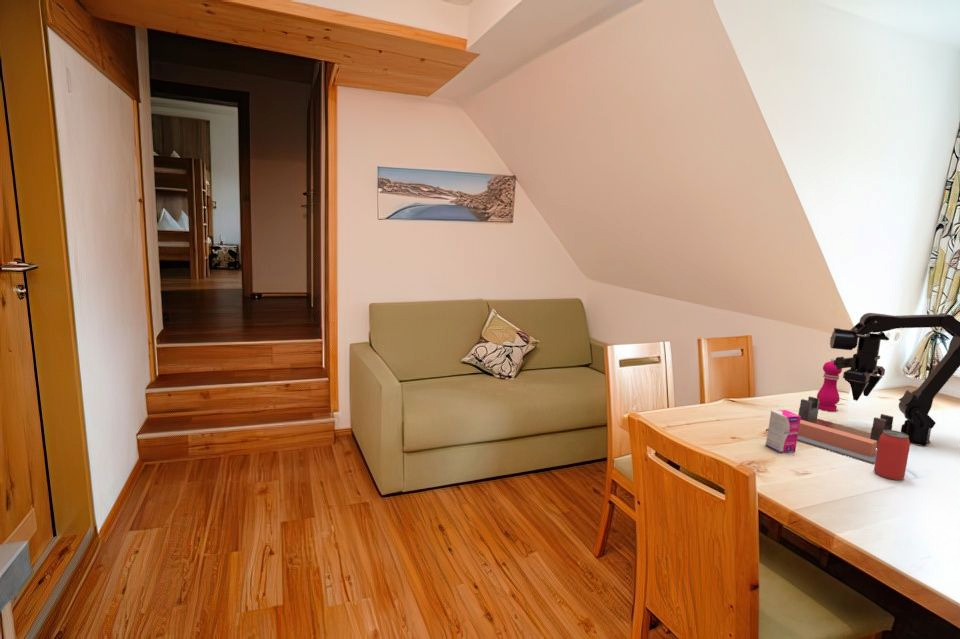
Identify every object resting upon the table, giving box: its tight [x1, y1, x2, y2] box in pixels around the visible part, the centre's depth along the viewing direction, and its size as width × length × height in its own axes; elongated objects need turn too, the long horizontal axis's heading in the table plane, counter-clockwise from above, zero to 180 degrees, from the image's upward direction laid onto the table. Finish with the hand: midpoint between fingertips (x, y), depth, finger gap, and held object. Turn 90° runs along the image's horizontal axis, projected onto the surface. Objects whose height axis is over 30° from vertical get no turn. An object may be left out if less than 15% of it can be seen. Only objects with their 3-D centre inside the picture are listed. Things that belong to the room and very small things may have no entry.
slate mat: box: [765, 428, 877, 465], centre depth 165 cm, size 30×12×1 cm, turn 37°
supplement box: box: [765, 409, 801, 454], centre depth 158 cm, size 6×6×12 cm
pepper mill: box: [816, 357, 843, 412], centre depth 199 cm, size 7×7×20 cm
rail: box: [798, 420, 877, 457], centre depth 165 cm, size 26×4×4 cm, turn 37°
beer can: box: [873, 429, 911, 481], centre depth 142 cm, size 7×7×12 cm
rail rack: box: [797, 396, 894, 448], centre depth 173 cm, size 28×10×9 cm, turn 37°
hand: (860, 398), depth 174 cm, fingers open, 9 cm apart
